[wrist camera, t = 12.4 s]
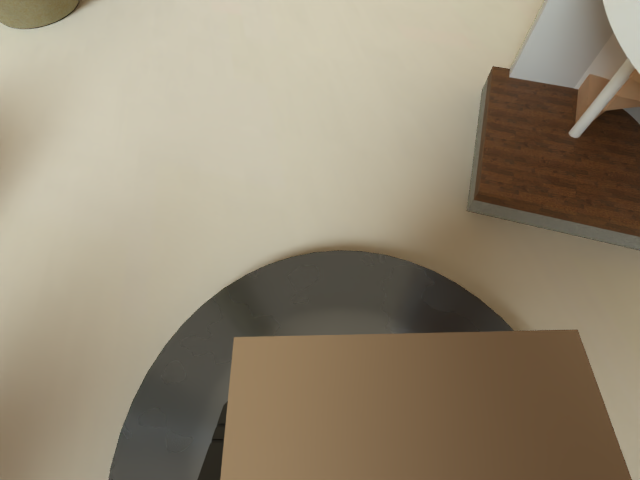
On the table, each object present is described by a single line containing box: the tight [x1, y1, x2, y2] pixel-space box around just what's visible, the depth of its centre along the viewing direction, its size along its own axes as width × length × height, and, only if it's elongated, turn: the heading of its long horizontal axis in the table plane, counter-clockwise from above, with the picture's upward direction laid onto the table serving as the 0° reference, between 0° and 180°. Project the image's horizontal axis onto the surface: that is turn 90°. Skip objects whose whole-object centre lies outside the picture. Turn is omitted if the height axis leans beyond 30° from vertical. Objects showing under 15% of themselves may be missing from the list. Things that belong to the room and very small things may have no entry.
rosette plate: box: [109, 251, 513, 480], centre depth 14 cm, size 20×20×5 cm
